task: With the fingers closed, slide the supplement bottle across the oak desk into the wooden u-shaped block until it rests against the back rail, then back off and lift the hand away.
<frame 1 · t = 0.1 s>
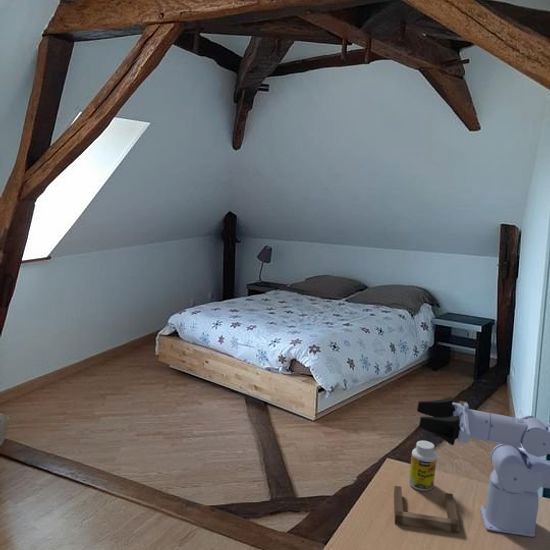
hand: (418, 413, 119), 22 cm above the table, tool horizontal, fingers open, 7 cm apart
wooden u-shaped block: (423, 510, 122), on the table
supplement bottle: (420, 486, 132), on the table
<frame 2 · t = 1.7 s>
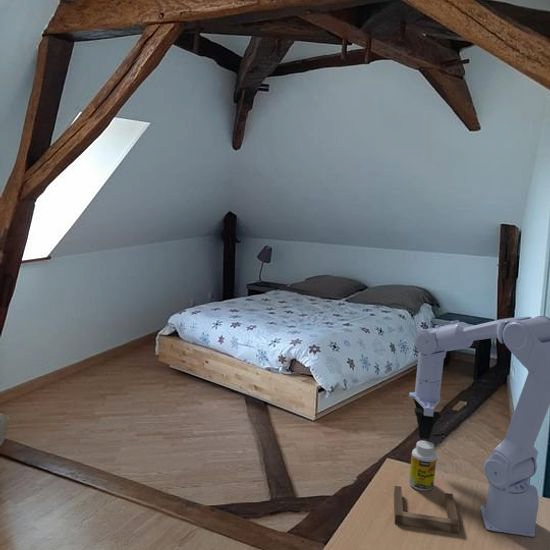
hand: (423, 431, 137), 10 cm above the table, tool pointing down, fingers open, 6 cm apart
nothing on the table moved.
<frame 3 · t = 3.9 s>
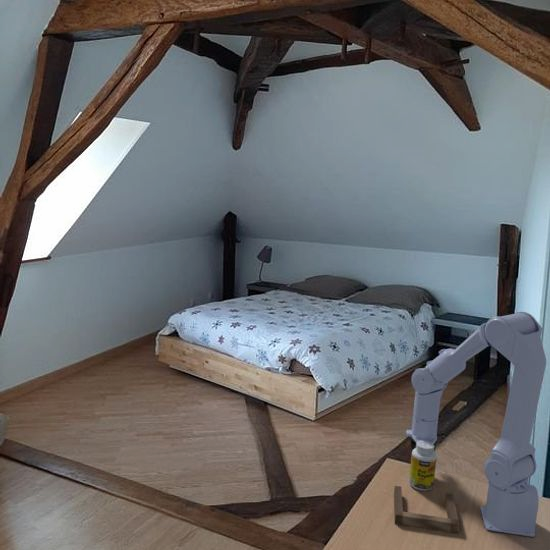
hand: (420, 469, 137), 1 cm above the table, tool pointing down, fingers closed
supplement bottle: (420, 486, 132), on the table, touching gripper
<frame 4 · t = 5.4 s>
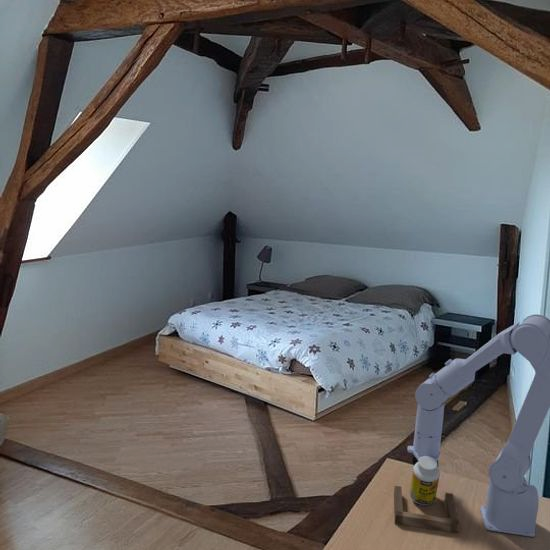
hand: (421, 487, 129), 1 cm above the table, tool pointing down, fingers closed
supplement bottle: (422, 497, 126), point 1 cm above the table, touching gripper
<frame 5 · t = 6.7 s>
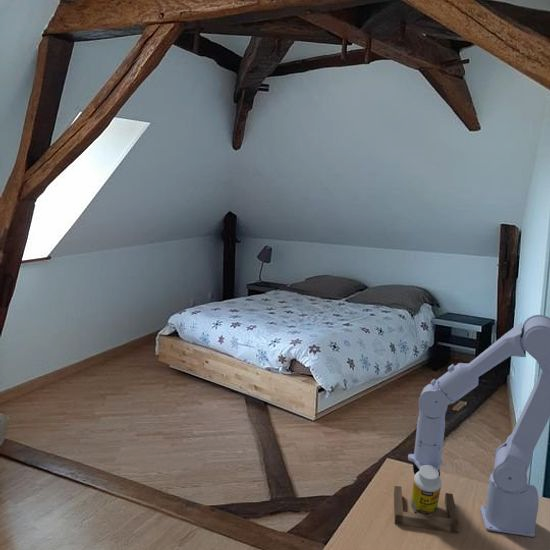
hand: (423, 496, 125), 1 cm above the table, tool pointing down, fingers closed
supplement bottle: (423, 507, 122), point 1 cm above the table, touching gripper
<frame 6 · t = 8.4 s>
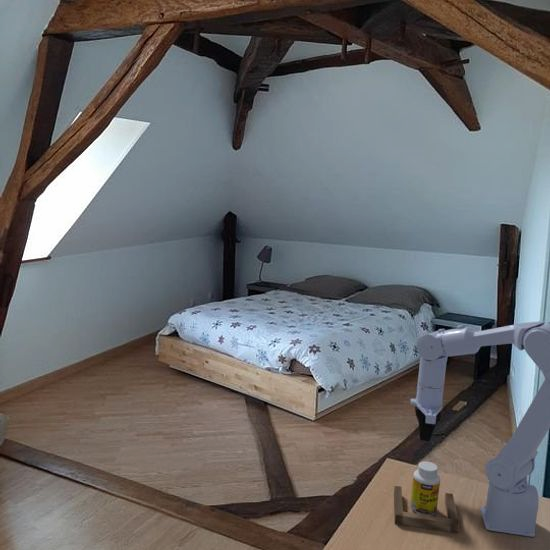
hand: (424, 439, 132), 10 cm above the table, tool pointing down, fingers closed
supplement bottle: (423, 510, 123), on the table
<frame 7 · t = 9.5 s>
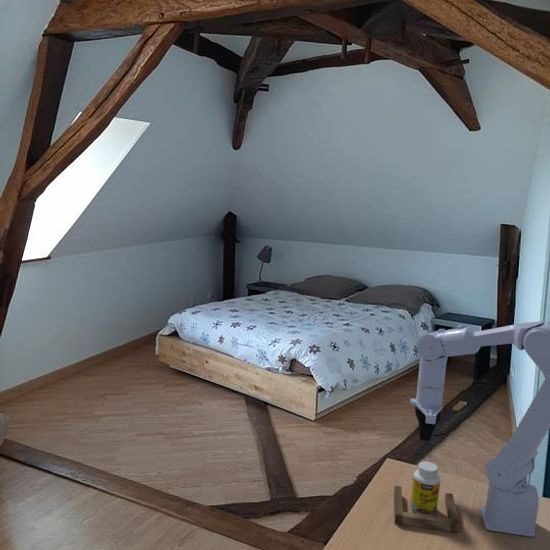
hand: (424, 439, 132), 10 cm above the table, tool pointing down, fingers closed
nothing on the table moved.
at the end: supplement bottle inside the target area (0.6 cm from its centre), on the table; supplement bottle tilted 0°; supplement bottle moved 9.7 cm from its start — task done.
